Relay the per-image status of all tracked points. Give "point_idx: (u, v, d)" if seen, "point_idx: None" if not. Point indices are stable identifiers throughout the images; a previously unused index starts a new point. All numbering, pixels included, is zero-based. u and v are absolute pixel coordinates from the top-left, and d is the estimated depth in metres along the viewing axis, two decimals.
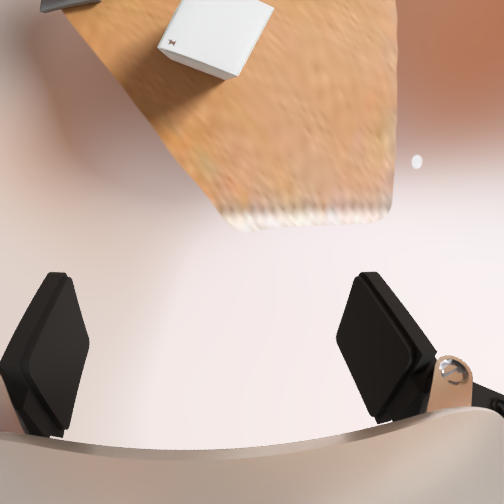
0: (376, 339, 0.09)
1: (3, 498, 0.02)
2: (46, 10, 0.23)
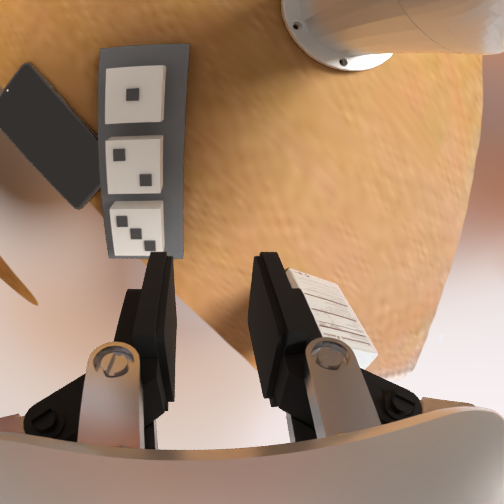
0: (263, 317, 0.09)
1: (3, 498, 0.02)
2: None
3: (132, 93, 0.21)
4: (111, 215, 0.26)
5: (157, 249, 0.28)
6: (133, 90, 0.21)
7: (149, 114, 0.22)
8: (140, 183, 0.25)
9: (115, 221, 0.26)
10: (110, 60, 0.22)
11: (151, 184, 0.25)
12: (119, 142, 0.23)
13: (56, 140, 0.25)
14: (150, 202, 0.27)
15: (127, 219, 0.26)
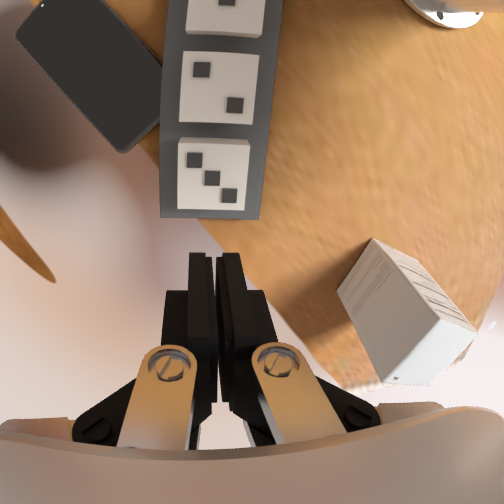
0: (219, 319, 0.09)
1: (3, 498, 0.02)
2: None
3: None
4: (180, 151, 0.19)
5: (238, 201, 0.22)
6: None
7: (247, 24, 0.16)
8: (228, 109, 0.18)
9: (185, 160, 0.20)
10: None
11: (242, 111, 0.18)
12: (203, 54, 0.16)
13: (102, 62, 0.19)
14: (231, 139, 0.21)
15: (202, 157, 0.20)
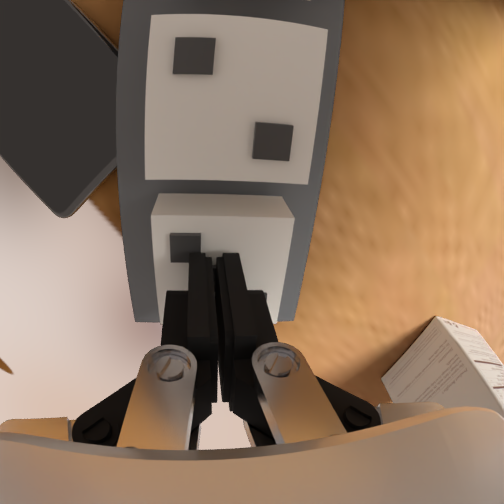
0: (219, 319, 0.09)
1: (3, 498, 0.02)
2: None
3: None
4: (155, 231, 0.10)
5: None
6: None
7: None
8: (256, 151, 0.08)
9: (166, 247, 0.10)
10: None
11: (288, 156, 0.08)
12: (199, 21, 0.06)
13: (20, 61, 0.09)
14: (253, 199, 0.12)
15: (201, 243, 0.10)
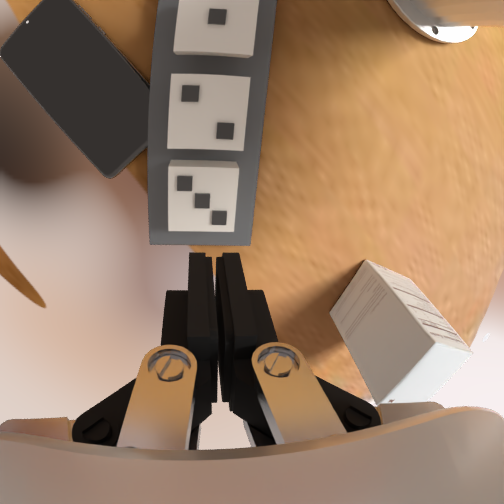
0: (219, 319, 0.09)
1: (3, 498, 0.02)
2: None
3: (217, 15, 0.14)
4: (170, 174, 0.20)
5: (228, 223, 0.22)
6: (219, 11, 0.14)
7: (238, 44, 0.15)
8: (218, 135, 0.18)
9: (175, 183, 0.20)
10: None
11: (232, 137, 0.18)
12: (192, 77, 0.16)
13: (88, 83, 0.18)
14: (220, 162, 0.22)
15: (192, 180, 0.20)
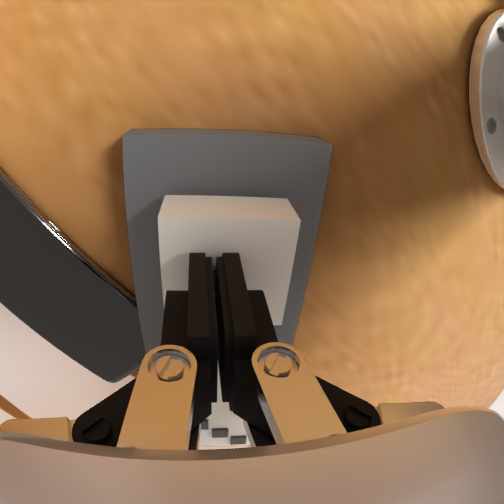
0: (219, 319, 0.09)
1: (3, 498, 0.02)
2: None
3: None
4: None
5: (247, 441, 0.19)
6: None
7: None
8: None
9: None
10: (150, 166, 0.11)
11: None
12: None
13: (57, 298, 0.15)
14: None
15: (208, 422, 0.17)
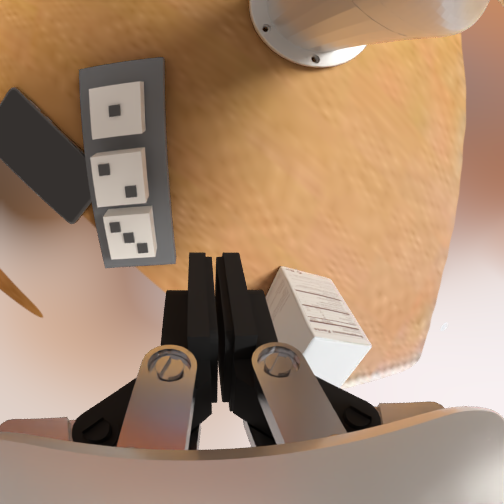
0: (219, 319, 0.09)
1: (3, 498, 0.02)
2: None
3: (114, 109, 0.23)
4: (105, 222, 0.28)
5: (149, 251, 0.30)
6: (114, 106, 0.23)
7: (131, 127, 0.24)
8: (126, 195, 0.26)
9: (109, 227, 0.28)
10: (89, 80, 0.23)
11: (136, 195, 0.26)
12: (103, 158, 0.24)
13: (46, 159, 0.27)
14: (140, 207, 0.29)
15: (119, 225, 0.28)
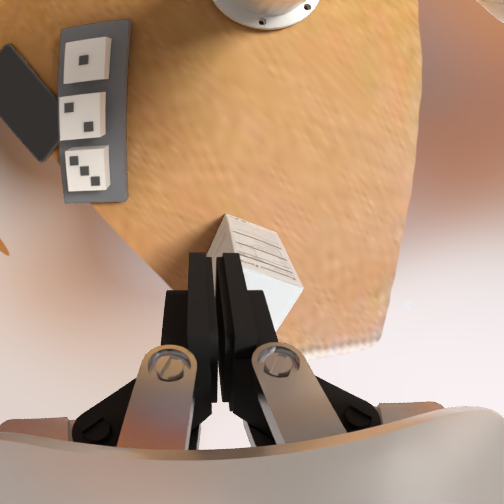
0: (219, 319, 0.09)
1: (3, 498, 0.02)
2: None
3: (83, 59, 0.24)
4: (66, 156, 0.29)
5: (101, 184, 0.31)
6: (84, 56, 0.24)
7: (95, 74, 0.25)
8: (84, 129, 0.27)
9: (69, 161, 0.29)
10: (68, 37, 0.24)
11: (92, 130, 0.27)
12: (69, 98, 0.25)
13: (27, 104, 0.27)
14: (97, 146, 0.30)
15: (78, 158, 0.29)
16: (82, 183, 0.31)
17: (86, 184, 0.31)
